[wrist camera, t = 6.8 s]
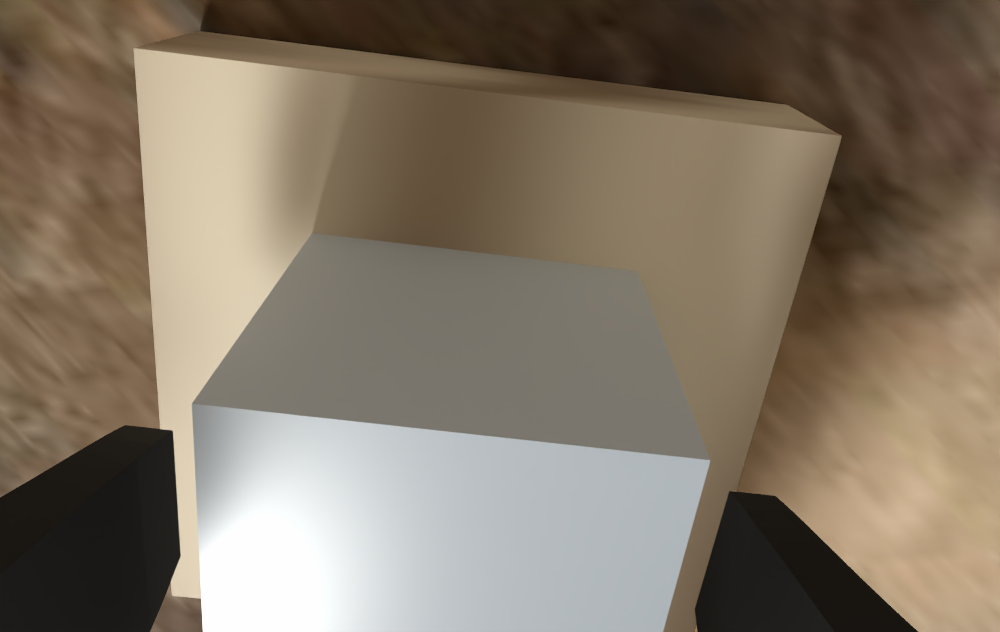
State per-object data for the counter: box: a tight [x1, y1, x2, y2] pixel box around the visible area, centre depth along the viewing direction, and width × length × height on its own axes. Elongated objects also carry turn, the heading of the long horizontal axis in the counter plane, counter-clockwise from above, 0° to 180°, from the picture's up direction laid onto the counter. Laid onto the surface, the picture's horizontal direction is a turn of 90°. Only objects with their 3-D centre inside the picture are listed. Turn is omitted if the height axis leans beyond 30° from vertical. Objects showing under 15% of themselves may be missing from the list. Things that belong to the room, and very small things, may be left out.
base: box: [134, 31, 842, 632], centre depth 14 cm, size 10×10×2 cm
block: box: [192, 233, 710, 632], centre depth 11 cm, size 5×5×5 cm
